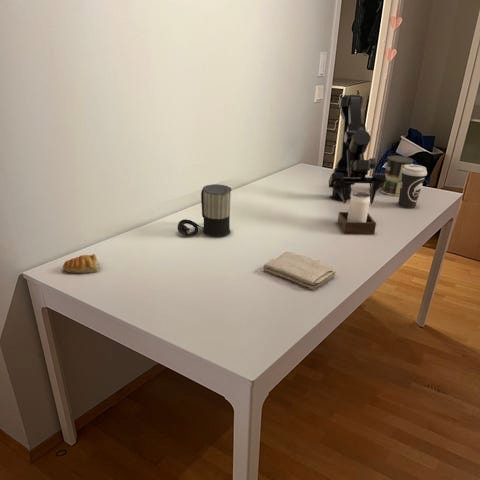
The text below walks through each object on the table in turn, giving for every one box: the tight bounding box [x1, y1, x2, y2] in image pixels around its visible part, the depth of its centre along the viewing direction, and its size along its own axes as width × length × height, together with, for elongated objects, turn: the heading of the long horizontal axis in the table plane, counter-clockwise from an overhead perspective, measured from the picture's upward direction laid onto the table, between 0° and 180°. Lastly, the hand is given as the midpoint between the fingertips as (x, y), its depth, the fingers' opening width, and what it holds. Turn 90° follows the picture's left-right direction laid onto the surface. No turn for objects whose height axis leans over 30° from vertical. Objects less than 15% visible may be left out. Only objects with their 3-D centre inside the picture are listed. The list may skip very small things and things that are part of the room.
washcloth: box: [262, 251, 336, 291], centre depth 133 cm, size 12×18×3 cm, turn 51°
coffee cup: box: [398, 164, 428, 209], centre depth 184 cm, size 10×10×15 cm
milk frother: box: [177, 183, 232, 238], centre depth 153 cm, size 14×16×15 cm
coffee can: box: [380, 155, 414, 197], centre depth 198 cm, size 10×10×14 cm
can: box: [347, 191, 371, 222], centre depth 162 cm, size 6×6×12 cm
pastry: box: [62, 253, 99, 274], centre depth 131 cm, size 9×7×4 cm
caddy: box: [337, 211, 377, 235], centre depth 164 cm, size 10×10×4 cm
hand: (358, 203), depth 161 cm, fingers open, 9 cm apart
